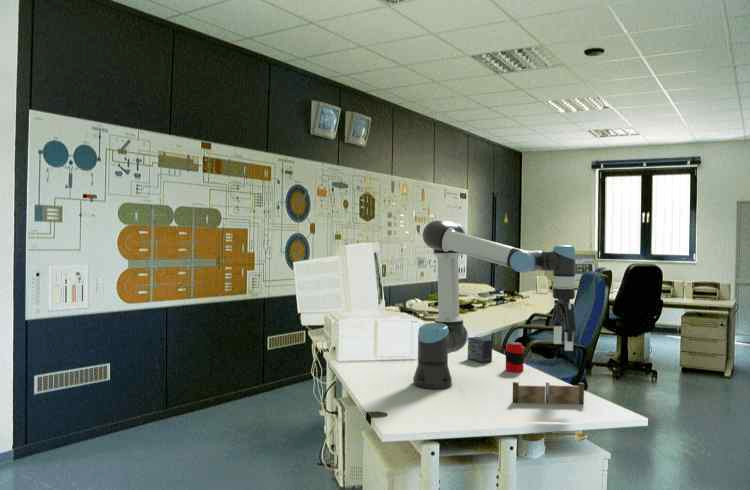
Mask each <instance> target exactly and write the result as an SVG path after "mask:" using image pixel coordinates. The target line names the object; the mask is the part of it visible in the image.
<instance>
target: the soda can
mask: <svg viewBox="0 0 750 490" xmlns="http://www.w3.org/2000/svg"><path fill="white" fill-rule="evenodd" d="M524 349H525V346H524V345H523V344H522V343H521V342H518V341H517V342H516V341H509V342H508V343H507V344H506V345H505V370H506V372H510V373H522V372H523V371H524V353H525V352H524Z"/></svg>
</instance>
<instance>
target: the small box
mask: <svg viewBox="0 0 750 490" xmlns="http://www.w3.org/2000/svg"><path fill="white" fill-rule="evenodd" d="M467 360H469V361H473V362H477V363H481V364H487V363H492V362H493V340H492V339H488V338H485V337H478V336H473V337H468V339H467Z"/></svg>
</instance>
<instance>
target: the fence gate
mask: <svg viewBox="0 0 750 490" xmlns="http://www.w3.org/2000/svg"><path fill="white" fill-rule="evenodd" d="M544 404H560V405H561V404H562V405H563V404H566V405H567V404H570V405H571V404H573V405H584V404H585V383H584V382H578V385H553V384H550V382H545V403H544Z"/></svg>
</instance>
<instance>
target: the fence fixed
mask: <svg viewBox="0 0 750 490" xmlns="http://www.w3.org/2000/svg"><path fill="white" fill-rule="evenodd" d="M545 397H546V385H529V384H528V385H520V382H518V381H512V403H513V404H546V403H545Z"/></svg>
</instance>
